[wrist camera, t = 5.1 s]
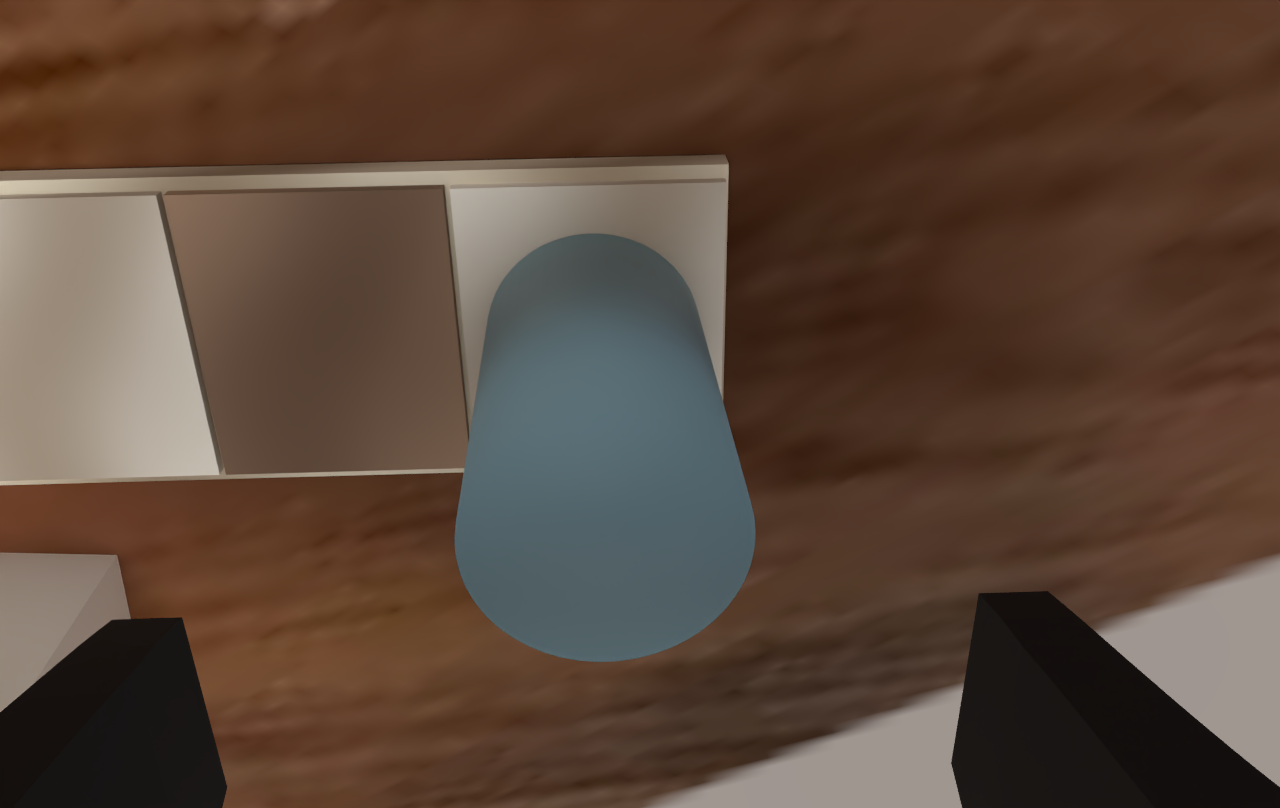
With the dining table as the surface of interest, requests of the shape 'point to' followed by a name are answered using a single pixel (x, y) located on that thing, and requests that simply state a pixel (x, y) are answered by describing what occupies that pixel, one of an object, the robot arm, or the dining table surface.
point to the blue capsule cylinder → (600, 459)
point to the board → (296, 305)
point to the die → (52, 611)
